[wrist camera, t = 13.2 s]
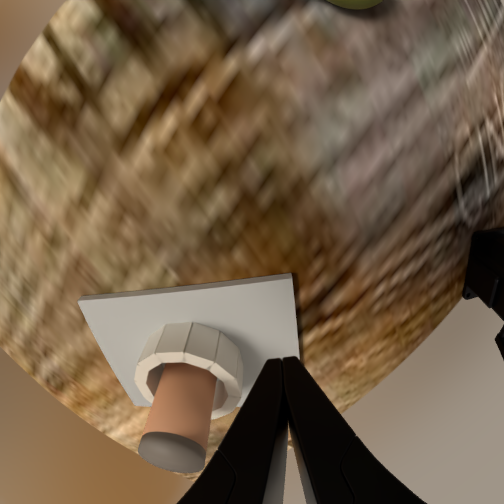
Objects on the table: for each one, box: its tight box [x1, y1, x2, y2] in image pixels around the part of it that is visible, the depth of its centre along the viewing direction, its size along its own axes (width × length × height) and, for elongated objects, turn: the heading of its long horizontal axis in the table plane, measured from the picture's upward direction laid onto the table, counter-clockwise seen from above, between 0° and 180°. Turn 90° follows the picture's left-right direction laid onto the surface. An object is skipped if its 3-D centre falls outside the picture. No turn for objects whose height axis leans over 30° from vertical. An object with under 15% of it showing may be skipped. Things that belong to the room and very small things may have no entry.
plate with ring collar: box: [78, 273, 300, 420], centre depth 23 cm, size 18×14×4 cm
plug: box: [138, 362, 217, 473], centre depth 20 cm, size 4×4×10 cm
